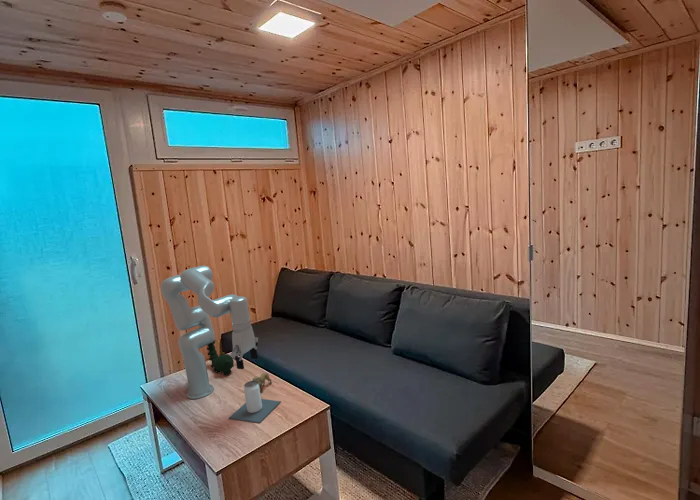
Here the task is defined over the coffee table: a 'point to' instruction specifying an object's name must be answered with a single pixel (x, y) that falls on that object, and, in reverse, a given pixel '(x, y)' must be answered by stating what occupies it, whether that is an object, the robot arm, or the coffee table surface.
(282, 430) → the coffee table surface
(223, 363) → the toy figurine
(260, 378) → the lion figurine
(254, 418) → the mat
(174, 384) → the coffee table surface
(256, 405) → the can
